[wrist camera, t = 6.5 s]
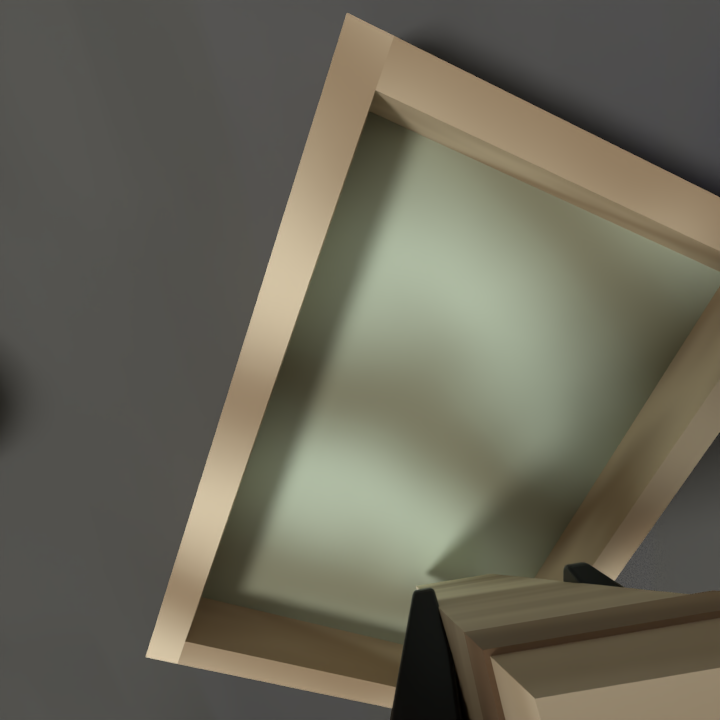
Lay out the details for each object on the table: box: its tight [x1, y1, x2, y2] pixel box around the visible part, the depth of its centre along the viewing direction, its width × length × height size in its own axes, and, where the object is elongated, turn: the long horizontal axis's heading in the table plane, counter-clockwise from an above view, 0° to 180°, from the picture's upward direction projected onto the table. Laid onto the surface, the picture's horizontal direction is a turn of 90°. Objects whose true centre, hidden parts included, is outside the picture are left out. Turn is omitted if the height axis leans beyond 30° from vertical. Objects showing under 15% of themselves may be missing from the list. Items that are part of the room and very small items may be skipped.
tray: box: [146, 13, 720, 708], centre depth 12 cm, size 18×13×2 cm
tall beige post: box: [416, 574, 720, 720], centre depth 8 cm, size 3×3×13 cm
